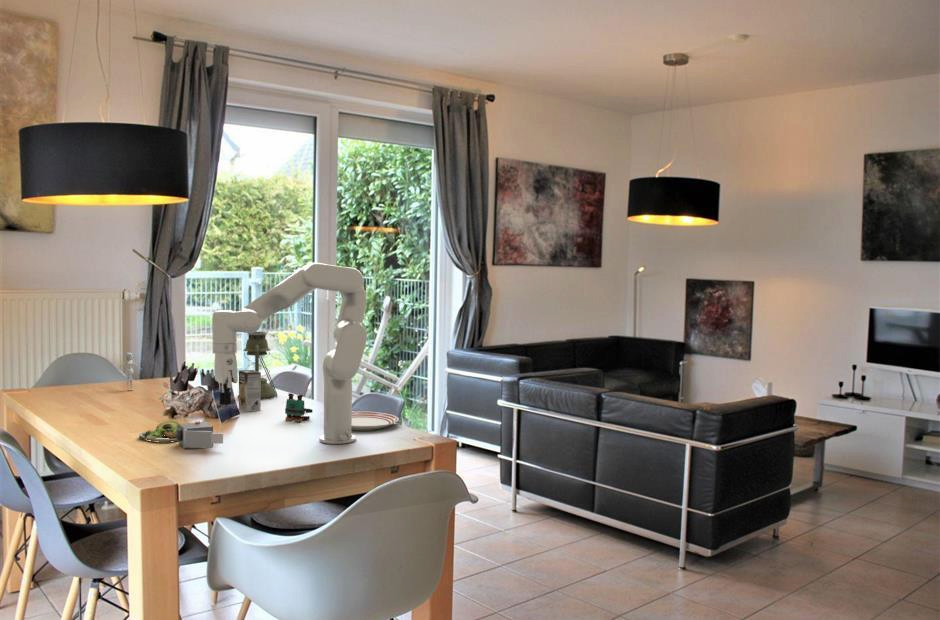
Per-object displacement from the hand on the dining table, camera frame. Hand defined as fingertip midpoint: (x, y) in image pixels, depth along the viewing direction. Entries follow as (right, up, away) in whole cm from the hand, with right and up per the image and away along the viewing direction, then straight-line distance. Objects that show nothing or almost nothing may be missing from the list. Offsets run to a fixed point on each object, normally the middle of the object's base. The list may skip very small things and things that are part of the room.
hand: (225, 404), depth 250 cm
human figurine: (-81, -8, +112) cm, 139 cm away
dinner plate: (+39, -14, +42) cm, 59 cm away
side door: (-7, -14, -1) cm, 16 cm away
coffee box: (-12, -11, +70) cm, 72 cm away
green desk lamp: (-17, -9, +101) cm, 103 cm away
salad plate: (-25, -14, +17) cm, 33 cm away
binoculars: (+13, -13, +50) cm, 53 cm away
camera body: (-12, -14, +6) cm, 19 cm away
